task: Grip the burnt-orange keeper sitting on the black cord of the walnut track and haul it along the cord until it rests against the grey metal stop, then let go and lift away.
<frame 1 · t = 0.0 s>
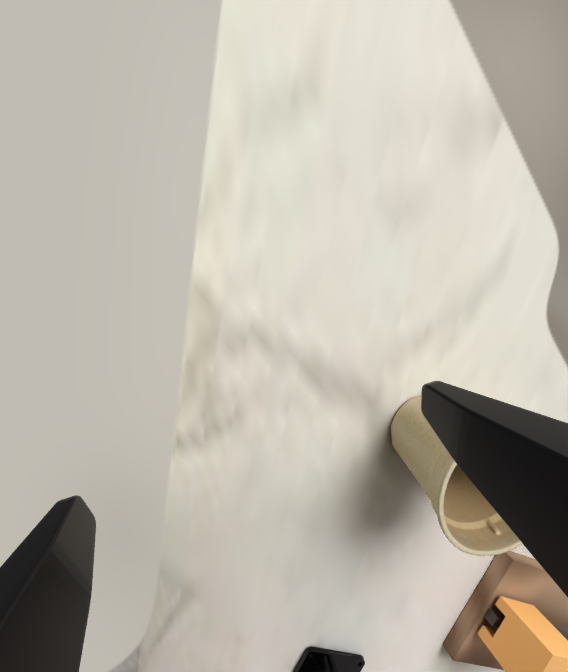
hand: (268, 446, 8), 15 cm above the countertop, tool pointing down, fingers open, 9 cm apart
flower pot: (419, 425, 29), on the countertop
track: (539, 615, 37), on the countertop
keeper: (529, 647, 31), point 4 cm above the countertop, slide at 0.0 cm
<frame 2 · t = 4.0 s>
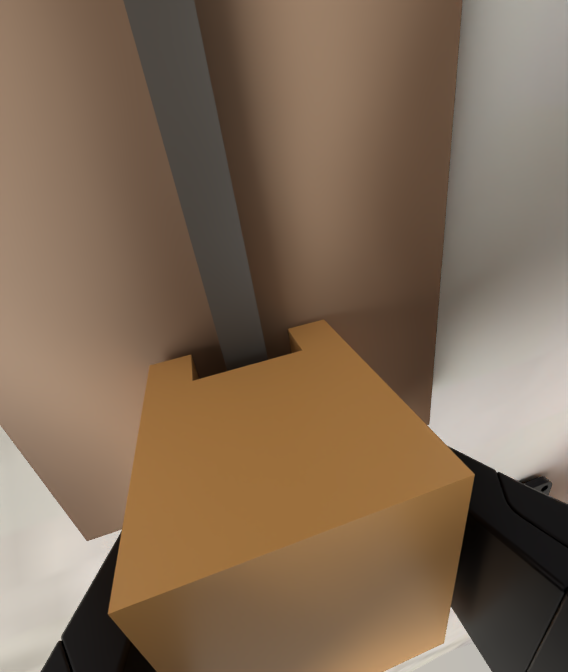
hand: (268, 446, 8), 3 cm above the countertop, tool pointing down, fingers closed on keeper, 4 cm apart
track: (175, 91, 7), on the countertop
keeper: (282, 491, 7), point 4 cm above the countertop, slide at 0.0 cm, touching gripper
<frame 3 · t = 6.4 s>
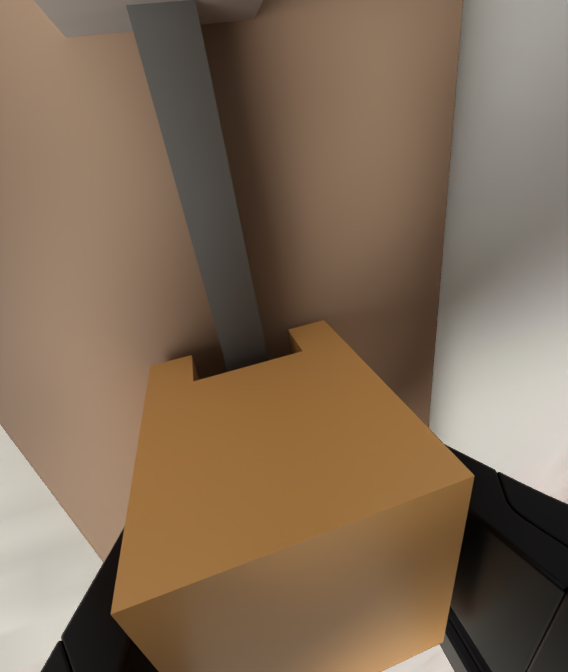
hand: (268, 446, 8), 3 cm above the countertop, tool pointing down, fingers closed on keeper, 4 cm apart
track: (247, 381, 11), on the countertop
keeper: (283, 491, 7), point 4 cm above the countertop, slide at 8.0 cm, touching gripper
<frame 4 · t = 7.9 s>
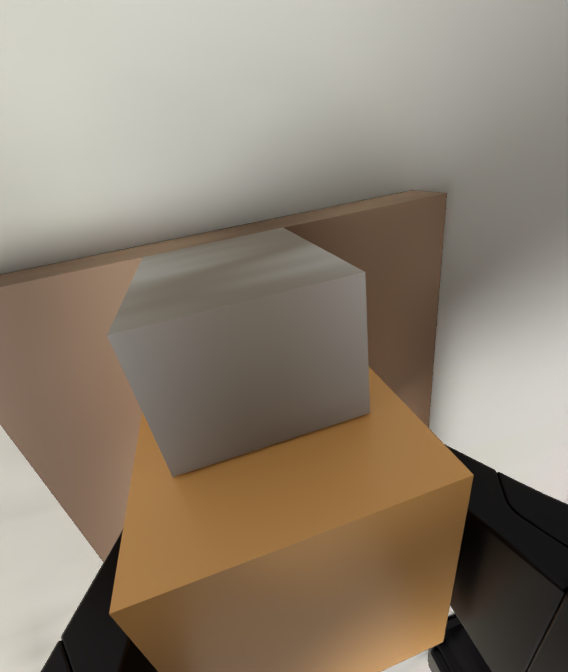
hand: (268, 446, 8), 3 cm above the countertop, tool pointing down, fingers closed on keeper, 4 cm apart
track: (276, 496, 14), on the countertop
keeper: (282, 491, 7), point 4 cm above the countertop, slide at 14.0 cm, touching gripper
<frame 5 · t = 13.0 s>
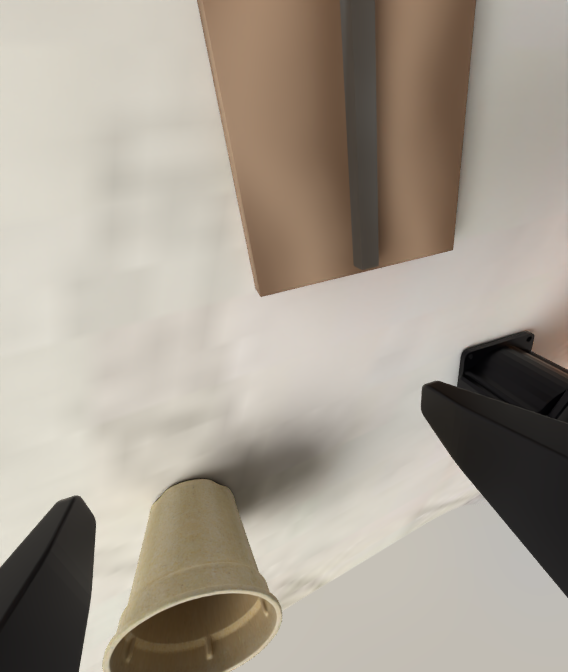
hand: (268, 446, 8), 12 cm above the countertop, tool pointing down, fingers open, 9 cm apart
flower pot: (194, 504, 26), on the countertop
track: (337, 31, 15), on the countertop
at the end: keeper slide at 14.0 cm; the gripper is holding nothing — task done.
